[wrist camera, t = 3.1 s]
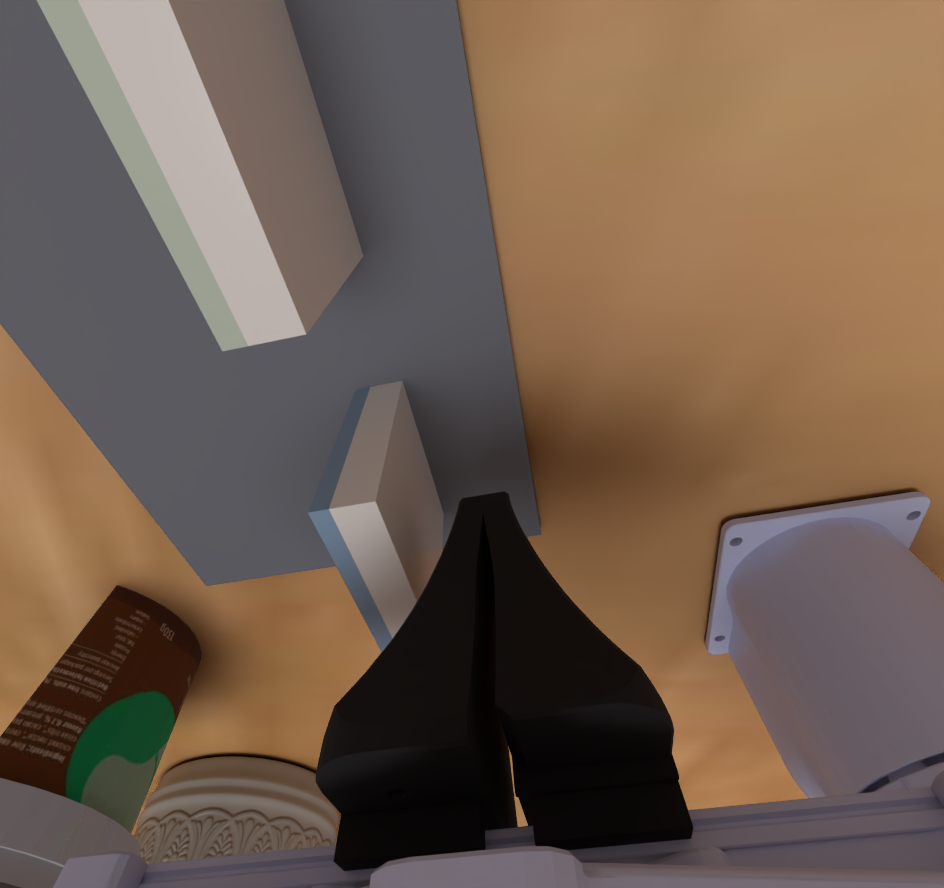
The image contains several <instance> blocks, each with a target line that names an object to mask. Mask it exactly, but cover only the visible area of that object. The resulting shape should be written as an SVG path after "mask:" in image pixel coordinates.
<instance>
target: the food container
mask: <svg viewBox="0 0 944 888" xmlns="http://www.w3.org/2000/svg"><path fill="white" fill-rule="evenodd" d="M200 660H201V650H200V645H199V642H198V640H197V638H196V637H195V635H194V633H193V632H192V631H191V630H190V628H189V627H188V626H187V625H186V624H185V623H184V622H183V621H182V620H181V619H180V618H179V617H177V616H176V615H175V614H173V613H172V612H171V611H169V610H168V609H166V608H165V607H163V606H161V605H160V604H158V603H156V602H155V601H153V600H151V599H149V598H147V597H145V596H143V595H140V594H138V593H136V592H134V591H131V590H128V589H125V588H123V587H120V586H116V587H115V588H114V590H113V591H112V592H111V594H110V595H109V596H108V597H107V599H106V600H105V601H104V603H103V604H102V605H101V607H100V608H99V609H98V610H97V612H96V613H95V614H94V616H93V617H92V618H91V619H90V621H89V622H88V623H87V625H86V626H85V627H84V629H83V630H82V631H81V632H80V634H79V635H78V636H77V638H76V639H75V640H74V642H73V643H72V644H71V645H70V647H69V648H68V649H67V651H66V652H65V653H64V655H63V656H62V657H61V658H60V660H59V661H58V662H57V664H56V665H55V666H54V668H53V669H52V670H51V671H50V673H49V674H48V675H47V677H46V678H45V679H44V681H43V682H42V683H41V684H40V686H39V687H38V688H37V690H36V691H35V692H34V694H33V695H32V696H31V697H30V699H29V700H28V701H27V703H26V704H25V705H24V706H23V708H22V709H21V710H20V712H19V713H18V714H17V716H16V717H15V718H14V719H13V721H12V722H11V723H10V725H9V726H8V727H7V729H6V730H5V731H4V732H3V734H2V735H1V736H0V888H53V886H54V885H55V883H56V881H57V879H58V877H59V875H60V873H61V871H62V869H63V868H64V866H65V864H66V862H67V860H68V859H69V858H70V857H72V856H74V855H83V854H93V853H103V852H112V851H123V852H129V853H132V854H135V855H137V856H139V857H140V856H141V851H140V846H139V844H138V842H137V840H136V838H135V837H134V836H133V835H132V834H131V832H132V830H133V827H134V825H135V822H136V820H137V817H138V815H139V812H140V810H141V807H142V805H143V802H144V800H145V797H146V795H147V792H148V790H149V787H150V785H151V782H152V780H153V777H154V775H155V772H156V770H157V767H158V765H159V762H160V760H161V757H162V755H163V752H164V750H165V747H166V745H167V742H168V740H169V737H170V735H171V732H172V730H173V727H174V725H175V722H176V720H177V717H178V715H179V712H180V710H181V707H182V705H183V702H184V700H185V697H186V695H187V692H188V690H189V687H190V685H191V682H192V680H193V677H194V675H195V672H196V670H197V667H198V665H199V662H200Z"/></svg>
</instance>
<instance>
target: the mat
mask: <svg viewBox="0 0 944 888" xmlns="http://www.w3.org/2000/svg"><path fill="white" fill-rule="evenodd" d="M284 2H285V5H286V8H287V11H288V15H289V18H290V21H291V24H292V28H293V31H294V34H295V37H296V40H297V44H298V47H299V50H300V53H301V56H302V60H303V63H304V66H305V69H306V73H307V76H308V79H309V82H310V85H311V89H312V92H313V95H314V98H315V101H316V105H317V108H318V111H319V114H320V118H321V121H322V124H323V127H324V130H325V134H326V137H327V140H328V143H329V146H330V150H331V153H332V156H333V159H334V163H335V166H336V169H337V172H338V175H339V179H340V182H341V185H342V188H343V191H344V195H345V198H346V201H347V204H348V208H349V211H350V214H351V217H352V220H353V224H354V227H355V230H356V233H357V236H358V240H359V243H360V246H361V249H362V253H363V257H362V259H361V260H360V261H359V263H358V264H357V266H356V267H355V268H354V270H353V271H352V272H351V274H350V275H349V277H348V278H347V279H346V281H345V282H344V283H343V285H342V286H341V288H340V289H339V290H338V292H337V293H336V294H335V296H334V297H333V299H332V300H331V301H330V303H329V304H328V305H327V307H326V308H325V310H324V311H323V312H322V314H321V315H320V316H319V318H318V319H317V321H316V322H315V323H314V325H313V326H312V327H311V329H310V330H309V332H308V333H307V334H306V335H301V336H296V337H291V338H286V339H281V340H276V341H272V342H267V343H262V344H257V345H252V346H247V347H242V348H237V349H232V350H227V351H222V350H221V348H220V346H219V344H218V342H217V340H216V338H215V336H214V334H213V333H212V331H211V329H210V327H209V325H208V323H207V321H206V319H205V317H204V316H203V314H202V312H201V310H200V308H199V306H198V304H197V302H196V300H195V299H194V297H193V295H192V293H191V291H190V289H189V287H188V285H187V283H186V282H185V280H184V278H183V276H182V274H181V272H180V270H179V268H178V266H177V265H176V263H175V261H174V259H173V257H172V255H171V253H170V251H169V249H168V248H167V246H166V244H165V242H164V240H163V238H162V236H161V234H160V232H159V231H158V229H157V227H156V225H155V223H154V221H153V219H152V217H151V215H150V214H149V212H148V210H147V208H146V206H145V204H144V202H143V200H142V198H141V197H140V195H139V193H138V191H137V189H136V187H135V185H134V183H133V181H132V180H131V178H130V176H129V174H128V172H127V170H126V168H125V166H124V164H123V163H122V161H121V159H120V157H119V155H118V153H117V151H116V149H115V147H114V146H113V144H112V142H111V140H110V138H109V136H108V134H107V132H106V131H105V129H104V127H103V125H102V123H101V121H100V119H99V117H98V115H97V114H96V112H95V110H94V108H93V106H92V104H91V102H90V100H89V98H88V97H87V95H86V93H85V91H84V89H83V87H82V85H81V83H80V81H79V80H78V78H77V76H76V74H75V72H74V70H73V68H72V66H71V64H70V63H69V61H68V59H67V57H66V55H65V53H64V51H63V49H62V47H61V46H60V44H59V42H58V40H57V38H56V36H55V34H54V32H53V30H52V29H51V27H50V25H49V23H48V21H47V19H46V17H45V15H44V13H43V12H42V10H41V8H40V6H39V4H38V2H37V0H0V324H1V325H2V327H3V328H4V329H5V330H6V332H7V333H8V334H9V335H10V337H11V338H12V339H13V340H14V342H15V343H16V344H17V346H18V347H19V348H20V349H21V351H22V352H23V353H24V354H25V356H26V357H27V358H28V360H29V361H30V362H31V363H32V365H33V366H34V367H35V368H36V370H37V371H38V372H39V374H40V375H41V376H42V377H43V379H44V380H45V381H46V382H47V384H48V385H49V386H50V388H51V389H52V390H53V391H54V393H55V394H56V395H57V396H58V398H59V399H60V400H61V402H62V403H63V404H64V405H65V407H66V408H67V409H68V410H69V412H70V413H71V414H72V416H73V417H74V418H75V419H76V421H77V422H78V423H79V424H80V426H81V427H82V428H83V430H84V431H85V432H86V433H87V435H88V436H89V437H90V438H91V440H92V441H93V442H94V444H95V445H96V446H97V447H98V449H99V450H100V451H101V452H102V454H103V455H104V456H105V458H106V459H107V460H108V461H109V463H110V464H111V465H112V466H113V468H114V469H115V470H116V472H117V473H118V474H119V475H120V477H121V478H122V479H123V480H124V482H125V483H126V484H127V486H128V487H129V488H130V489H131V491H132V492H133V493H134V494H135V496H136V497H137V498H138V500H139V501H140V502H141V503H142V505H143V506H144V507H145V508H146V510H147V511H148V512H149V514H150V515H151V516H152V517H153V519H154V520H155V521H156V522H157V524H158V525H159V526H160V528H161V529H162V530H163V531H164V533H165V534H166V535H167V536H168V538H169V539H170V540H171V542H172V543H173V544H174V545H175V547H176V548H177V549H178V550H179V552H180V553H181V554H182V556H183V557H184V558H185V559H186V561H187V562H188V563H189V564H190V566H191V567H192V568H193V570H194V571H195V572H196V573H197V575H198V576H199V577H200V578H201V580H202V581H203V582H204V584H205V585H206V586H210V585H216V584H223V583H229V582H236V581H242V580H249V579H255V578H262V577H268V576H275V575H281V574H287V573H294V572H300V571H307V570H313V569H320V568H326V567H333V566H336V565H335V563H334V561H333V559H332V557H331V555H330V553H329V552H328V550H327V548H326V546H325V544H324V542H323V540H322V538H321V536H320V535H319V533H318V531H317V529H316V527H315V525H314V523H313V521H312V519H311V518H310V516H309V514H308V511H309V508H310V506H311V503H312V501H313V498H314V496H315V493H316V491H317V488H318V485H319V483H320V480H321V478H322V475H323V473H324V470H325V468H326V465H327V462H328V460H329V457H330V455H331V452H332V450H333V447H334V445H335V442H336V439H337V437H338V434H339V432H340V429H341V427H342V424H343V421H344V419H345V416H346V414H347V411H348V409H349V406H350V404H351V401H352V398H353V396H354V393H355V391H356V390H357V389H362V388H368V387H373V386H378V385H383V384H389V383H394V382H399V381H403V384H404V388H405V391H406V394H407V397H408V400H409V404H410V407H411V410H412V413H413V416H414V420H415V423H416V426H417V429H418V433H419V436H420V439H421V442H422V445H423V449H424V452H425V455H426V458H427V461H428V465H429V468H430V471H431V474H432V477H433V481H434V484H435V487H436V490H437V494H438V497H439V500H440V503H441V506H442V510H443V513H444V517H443V541H442V550H443V549H444V546H445V544H446V541H447V539H448V537H449V534H450V531H451V528H452V526H453V523H454V520H455V516H456V513H457V510H458V506H459V502H460V500H461V499H462V498H466V497H473V496H479V495H485V494H491V493H497V492H503V491H505V492H506V493H508V494H509V497H510V502H511V505H512V508H513V511H514V513H515V516H516V518H517V520H518V522H519V524H520V526H521V528H522V530H523V532H524V534H525V535H526V537H527V536H533V535H540V534H541V530H540V524H539V517H538V511H537V505H536V499H535V492H534V486H533V480H532V473H531V467H530V461H529V455H528V448H527V442H526V436H525V429H524V423H523V417H522V411H521V404H520V398H519V392H518V385H517V379H516V373H515V367H514V360H513V354H512V348H511V341H510V335H509V329H508V323H507V316H506V310H505V304H504V297H503V291H502V285H501V279H500V272H499V266H498V260H497V254H496V247H495V241H494V235H493V228H492V222H491V216H490V210H489V203H488V197H487V191H486V184H485V178H484V172H483V166H482V159H481V153H480V147H479V140H478V134H477V128H476V122H475V115H474V109H473V103H472V96H471V90H470V84H469V78H468V71H467V65H466V59H465V53H464V46H463V40H462V34H461V27H460V21H459V15H458V9H457V2H456V0H284Z"/></svg>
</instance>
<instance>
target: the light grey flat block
mask: <svg viewBox="0 0 944 888" xmlns="http://www.w3.org/2000/svg"><path fill="white" fill-rule="evenodd" d="M308 514H309V516H310V518H311V519H312V521H313V523H314V525H315V527H316V529H317V531H318V533H319V535H320V536H321V538H322V540H323V542H324V544H325V546H326V548H327V550H328V552H329V553H330V555H331V557H332V559H333V561H334V563H335V565H336V567H337V569H338V570H339V572H340V574H341V576H342V578H343V580H344V582H345V584H346V586H347V587H348V589H349V591H350V593H351V595H352V597H353V599H354V601H355V603H356V604H357V606H358V608H359V610H360V612H361V614H362V616H363V618H364V620H365V621H366V623H367V625H368V627H369V629H370V631H371V633H372V635H373V637H374V638H375V640H376V642H377V644H378V646H379V648H380V650H381V652H382V651H383V650H384V649H385V648H386V646H387V645H388V644H389V643H390V641H391V640H392V639H393V637H394V636H395V634H396V633H397V632H398V630H399V629H400V627H401V626H402V624H403V623H404V621H405V620H406V618H407V617H408V615H409V614H410V612H411V611H412V609H413V607H414V606H415V604H416V602H417V601H418V599H419V597H420V596H421V594H422V592H423V590H424V588H425V587H426V585H427V583H428V581H429V579H430V577H431V575H432V573H433V571H434V569H435V567H436V565H437V562H438V560H439V558H440V556H441V554H442V541H443V517H444V513H443V510H442V506H441V503H440V500H439V497H438V494H437V490H436V487H435V484H434V481H433V477H432V474H431V471H430V468H429V465H428V461H427V458H426V455H425V452H424V449H423V445H422V442H421V439H420V436H419V433H418V429H417V426H416V423H415V420H414V416H413V413H412V410H411V407H410V404H409V400H408V397H407V394H406V391H405V388H404V384H403V381H399V382H394V383H389V384H383V385H378V386H373V387H368V388H362V389H357V390H356V391H355V393H354V396H353V398H352V401H351V404H350V406H349V409H348V411H347V414H346V416H345V419H344V421H343V424H342V427H341V429H340V432H339V434H338V437H337V439H336V442H335V445H334V447H333V450H332V452H331V455H330V457H329V460H328V462H327V465H326V468H325V470H324V473H323V475H322V478H321V480H320V483H319V485H318V488H317V491H316V493H315V496H314V498H313V501H312V503H311V506H310V508H309V511H308Z"/></svg>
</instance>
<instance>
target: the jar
mask: <svg viewBox="0 0 944 888" xmlns="http://www.w3.org/2000/svg"><path fill="white" fill-rule="evenodd" d="M315 779H316V774H315V773H313V772H311V771H309V770H306V769H304V768H301V767H298V766H295V765H292V764H288V763H284V762H280V761H275V760H270V759H263V758H254V757H238V756H229V757H212V758H204V759H199V760H194V761H190V762H187V763H184V764H181V765H179V766H177V767H175V768H173V769H171V770H170V771H168V772H167V773H166V774H165V775H164V776H163V777H162V779H161V781H160V782H159V784H158V786H157V788H156V789H155V791H154V792H153V793H152V794H151V795H150V797H149V798H148V799H147V801H146V804H145V808H144V810H143V811H142V813H141V814H140V816H139V819H138V823H137V829H136V832H135V834H134V837H135V838H136V840H137V842H138V844H139V846H140V851H141V856H140V857H141V858H142V859H144V860H145V861H146V863H147V864H149V863H160V862H170V861H180V860H190V859H200V858H210V857H220V856H230V855H241V854H251V853H261V852H271V851H281V850H291V849H301V848H312V847H322V846H332V845H334V844H335V841H336V838H337V828H338V825H339V813H338V810H337V809H336V808H335V807H334V805H333V804H332V803H331V802H330V801H329V800H328V799H327V798H326V797H325V796H324V795H323V794H322V792H321V791H320V789H319V787H318V786H317V784H316V782H315Z"/></svg>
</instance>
